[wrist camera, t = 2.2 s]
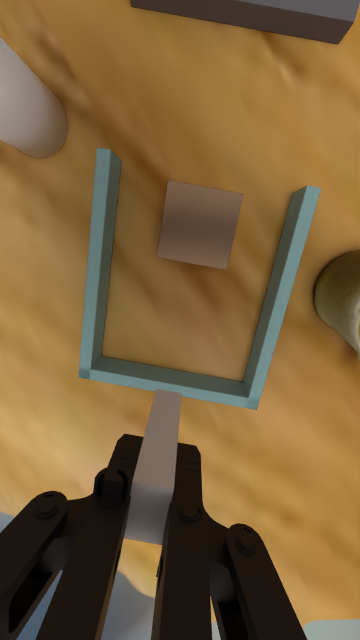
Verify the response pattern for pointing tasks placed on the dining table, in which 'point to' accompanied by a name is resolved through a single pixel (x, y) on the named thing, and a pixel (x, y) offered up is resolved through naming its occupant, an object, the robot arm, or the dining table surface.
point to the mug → (341, 297)
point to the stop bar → (269, 15)
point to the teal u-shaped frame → (172, 379)
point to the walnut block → (198, 224)
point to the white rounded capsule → (28, 109)
